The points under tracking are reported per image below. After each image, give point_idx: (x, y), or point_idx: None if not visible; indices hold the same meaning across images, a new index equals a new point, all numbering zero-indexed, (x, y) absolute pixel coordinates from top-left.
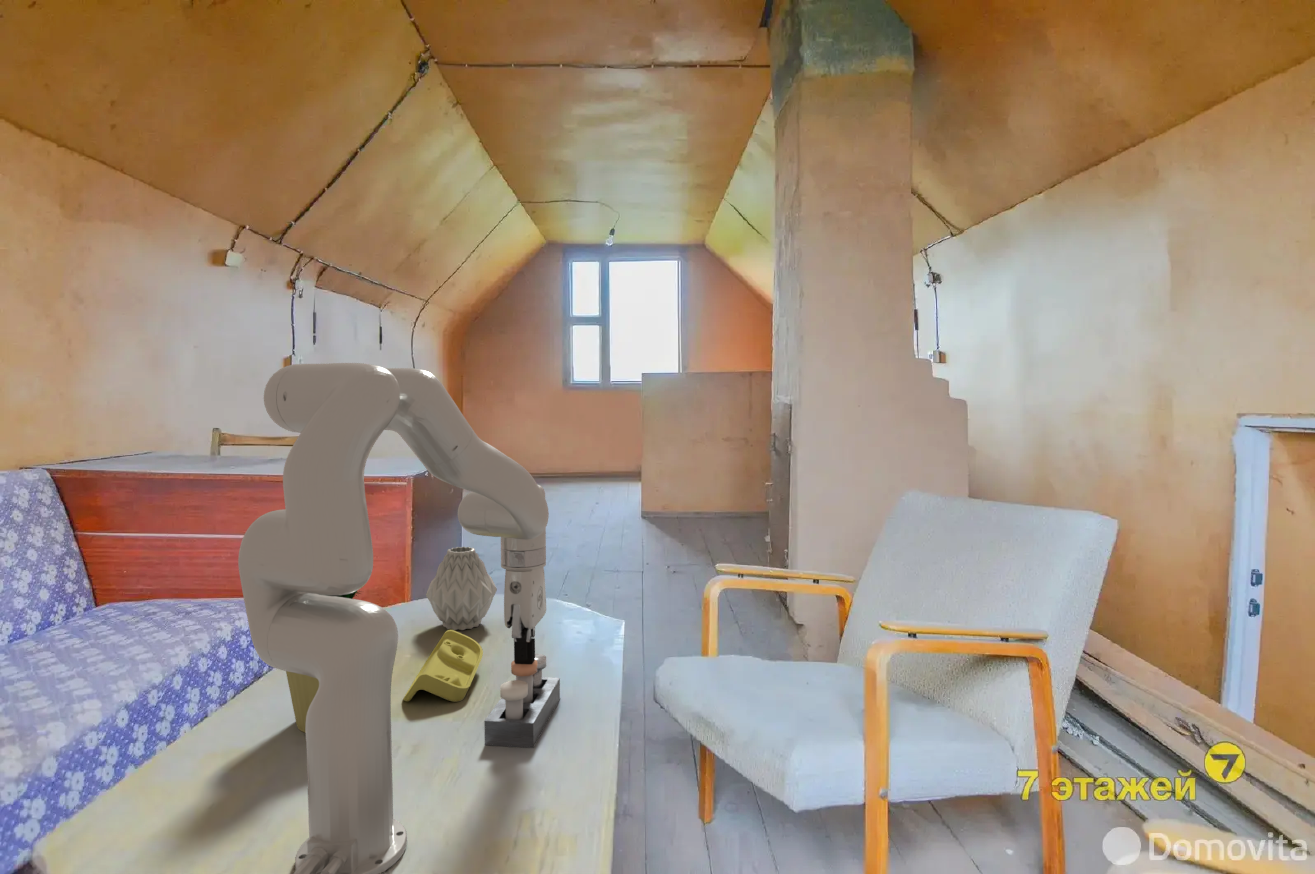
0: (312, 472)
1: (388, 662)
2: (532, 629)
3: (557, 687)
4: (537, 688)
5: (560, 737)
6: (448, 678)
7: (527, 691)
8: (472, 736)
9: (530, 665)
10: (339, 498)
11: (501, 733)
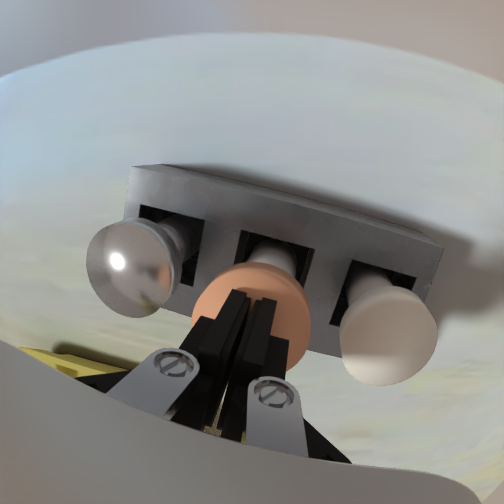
0: None
1: None
2: (179, 401)
3: (165, 170)
4: (188, 233)
5: (384, 163)
6: None
7: (402, 291)
8: (335, 361)
9: (289, 306)
10: None
11: None
